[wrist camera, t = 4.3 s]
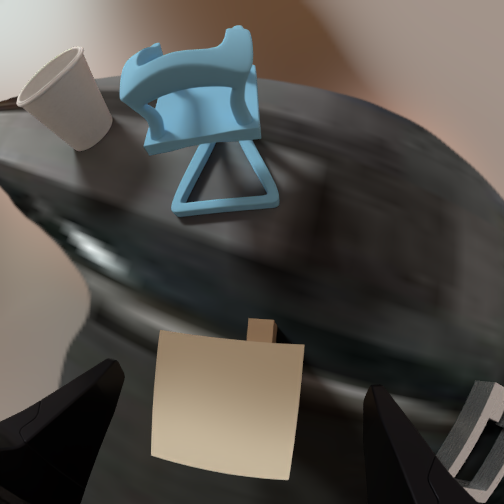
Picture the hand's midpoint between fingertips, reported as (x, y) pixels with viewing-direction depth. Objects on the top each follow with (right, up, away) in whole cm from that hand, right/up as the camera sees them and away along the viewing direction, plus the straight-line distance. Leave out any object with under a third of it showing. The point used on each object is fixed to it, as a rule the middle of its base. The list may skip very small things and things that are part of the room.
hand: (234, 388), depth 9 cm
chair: (-1, +11, +13) cm, 17 cm away
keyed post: (+1, -3, +8) cm, 8 cm away
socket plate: (+17, -10, +3) cm, 20 cm away
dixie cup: (-18, +18, +18) cm, 31 cm away
